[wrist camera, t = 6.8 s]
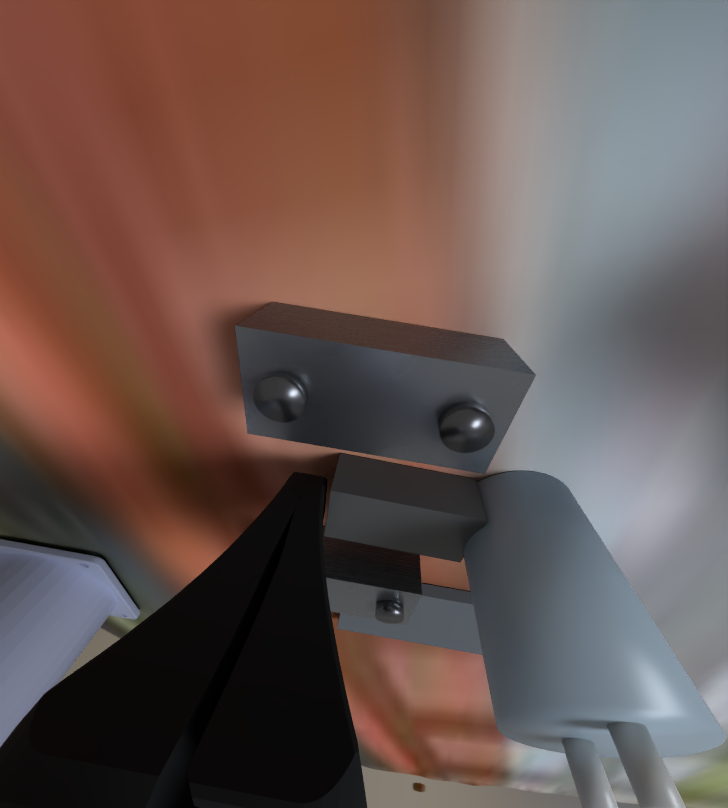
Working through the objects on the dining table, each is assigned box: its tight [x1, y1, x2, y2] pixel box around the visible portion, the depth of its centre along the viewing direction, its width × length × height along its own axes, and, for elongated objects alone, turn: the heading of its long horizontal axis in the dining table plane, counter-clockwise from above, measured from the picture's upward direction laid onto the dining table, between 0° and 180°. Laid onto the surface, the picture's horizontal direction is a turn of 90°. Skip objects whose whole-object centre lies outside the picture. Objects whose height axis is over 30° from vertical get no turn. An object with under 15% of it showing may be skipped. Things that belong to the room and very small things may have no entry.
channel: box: [235, 302, 536, 625], centre depth 10 cm, size 6×13×3 cm, turn 173°
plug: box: [324, 453, 726, 808], centre depth 9 cm, size 9×4×7 cm, turn 81°
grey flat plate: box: [337, 583, 483, 655], centre depth 17 cm, size 11×6×1 cm, turn 83°
